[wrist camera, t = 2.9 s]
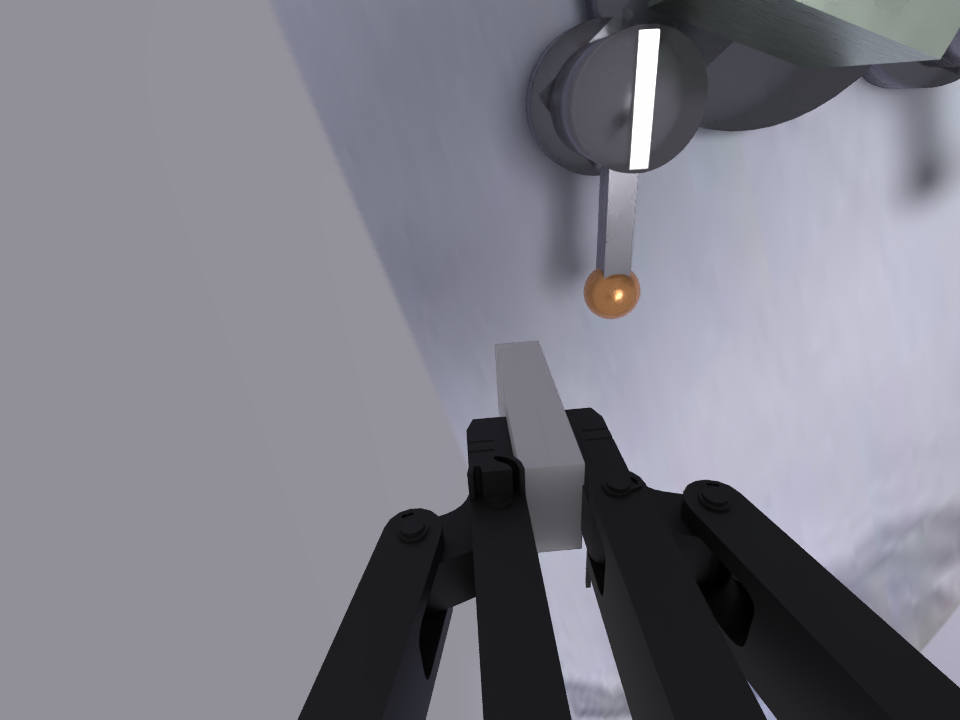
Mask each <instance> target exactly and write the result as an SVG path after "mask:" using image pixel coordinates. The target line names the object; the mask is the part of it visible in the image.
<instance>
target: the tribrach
mask: <svg viewBox="0 0 960 720" xmlns="http://www.w3.org/2000/svg"><path fill="white" fill-rule="evenodd" d="M586 5H587V11H588V16H589V19H590V20H589V21H586V22H583V23H581V24H579V25H578V26H576V27H574V28H572V29H570V30H568V31H567V32H565V33H563V34H562V35H561V36H559V37H558V38H556V39H555V40H554V41H553V42H552V43H551V44H550V45H549V46H548V47H547V48H546V50H545V51H544V52H543V53H542V55H541V57H540V58H539V60H538V61H537V63H536V65H535V67H534V69H533V72H532V74H531V77H530V80H529V84H528V89H527V96H526V112H527V119H528V123H529V127H530V130H531V133H532V135H533V137H534V139H535V141H536V143H537V144H538V146H539V147H540V148H541V150H542V151H543V152H544V153H545V154H546V155H547V156H548V157H549V158H551V159H552V160H553V161H555V162H556V163H558V164H559V165H561V166H562V167H564V168H566V169H568V170H570V171H572V172H575V173H578V174H583V175H592V176H595V175H600V167H601V165H600V164H598V163H596V162H593V161H591V160H589V159H587V158H585V157H583V156H581V155H579V154H577V153H575V152H573V151H572V150H570V149H569V148H568V147H567V146H566V145H565V144H564V143H563V142H562V141H561V140H560V138H559V136H558V135H557V133H556V131H555V129H554V126H553V123H552V119H551V113H550V98H551V92H552V87H553V84H554V81H555V79H556V76H557V74H558V72H559V70H560V69H561V67H562V66H563V64H564V63H565V61H566V60H567V59H568V58H569V57H570V56H571V55H572V54H573V53H574V52H575V51H576V50H578V49H579V48H581V47H582V46H584V45H586V44H588V43H590V42H593V41H595V40H598V39H600V38H603V37H606V36H608V35H611V34H614V33H616V32H619V31H622V30H624V29H627V28H630V27H633V26H636V25H641V24H662V25H667V26H669V27H672V28H675V29H676V30H678V31H680V32H682V33H683V34H684V35H686V36H687V37H688V38H689V39H690V40H691V41H692V42H693V43H694V45H695V46H696V48H697V49H698V51H699V52H700V54H701V57H702V59H703V61H704V64H705V68H706V72H707V78H708V95H707V102H706V108H705V111H704V114H703V118H702V120H701V122H700V125H699V127H698V128H705V129H714V130H724V131H743V130H754V129H759V128H765V127H770V126H774V125H777V124H780V123H783V122H786V121H789V120H792V119H794V118H797V117H799V116H801V115H803V114H805V113H807V112H809V111H811V110H814V109H815V108H817V107H819V106H820V105H822V104H824V103H825V102H827V101H828V100H830V99H832V98H833V97H835V96H836V95H838V94H839V93H840V92H842V91H843V90H844V89H846V88H847V87H848V86H850V85H851V84H852V83H853V82H855V81H856V80H857V79H858V78H859V77H860V76H862V77H863V78H864V79H866V80H867V81H868V82H870V83H872V84H874V85H876V86H880V87H883V88H931V87H938V86H943V85H946V84H949V83H952V82H954V81H956V80H958V79H960V66H957V67H939V68H934V67H928V66H924V65H922V64H920V63H918V62H917V61H925V60H939V59H941V58H942V56H943V54H944V53H945V51H946V49H947V48H948V46H949V44H950V43H951V41H952V40H953V38H954V36H955V35H956V33H957V31H958V30H959V28H960V0H586Z"/></svg>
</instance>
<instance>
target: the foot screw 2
mask: <svg viewBox="0 0 960 720" xmlns="http://www.w3.org/2000/svg"><path fill="white" fill-rule="evenodd" d="M917 62H918V63H920V64H922V65H924V66H928V67H934V68H939V67H957V66H960V28H959V30H958V31H957V33H956V35H955V36H954V38H953V40H952V41H951V43H950V44H949V46H948V48H947V49H946V51H945V53H944V54H943V56H942V58H941V59H939V60H925V61H917Z"/></svg>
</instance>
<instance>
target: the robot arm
mask: <svg viewBox="0 0 960 720" xmlns="http://www.w3.org/2000/svg"><path fill="white" fill-rule="evenodd" d="M495 355H496V371H497V388H498V404H499V414H500V417H495V418H484V419H473V420H472V422H471V424H470V425H469V427H468V429H467V446H468V463H469V468H468V472H467V477H468V486H469V495H468V497H467V500H466V501H465V502H464V503H463V504H462V505H461V506H460V507H458V508H457V509H456V510H454V511H452V512H449V513H447V514H445V515H442V516H439V517H438V516H437V515H436V514H434V513H433V512H432V511H430V510H426V509H421V508H420V509H419V508H418V509H409V510H406V511H403V512H400V513H398V514H397V515H396V516H394V517H393V518H391V519H390V520H389V522H388V523H387V525H386V526H385V527H384V530H383V532H382V534H381V536H380V539H379V541H378V543H377V545H376V547H375V550H374V552H373V554H372V556H371V558H370V561H369V563H368V565H367V567H366V569H365V572H364V574H363V576H362V579H361V581H360V583H359V585H358V587H357V590H356V592H355V594H354V596H353V598H352V600H351V603H350V605H349V607H348V609H347V612H346V614H345V616H344V618H343V621H342V623H341V625H340V627H339V629H338V631H337V634H336V636H335V638H334V640H333V643H332V645H331V647H330V649H329V651H328V654H327V656H326V658H325V661H324V663H323V665H322V667H321V669H320V671H319V674H318V676H317V678H316V680H315V683H314V685H313V687H312V689H311V691H310V693H309V696H308V698H307V700H306V702H305V705H304V707H303V709H302V711H301V714H300V716H299V718H298V720H426V716H427V712H428V708H429V704H430V700H431V696H432V692H433V688H434V684H435V680H436V676H437V672H438V668H439V664H440V660H441V656H442V651H443V647H444V643H445V639H446V635H447V631H448V627H449V624H450V619H451V615H452V611H453V606H455V605H458V604H460V603H462V602H465V601H467V600H469V599H472V598H474V597H476V605H477V621H478V638H479V654H480V668H481V669H480V670H481V684H482V685H481V686H482V703H483V719H484V720H571V715H570V710H569V705H568V700H567V695H566V690H565V685H564V680H563V675H562V671H561V666H560V661H559V656H558V651H557V646H556V641H555V636H554V631H553V626H552V622H551V617H550V612H549V607H548V602H547V597H546V592H545V587H544V582H543V577H542V573H541V568H540V563H539V558H538V553H540V552H550V551H560V550H571V549H581V548H582V535H583V538H584V541H585V544H586V547H587V559H586V588H589V587H591V582H592V585H593V588H594V592H595V595H596V599H597V602H598V605H599V609H600V612H601V615H602V619H603V622H604V625H605V629H606V632H607V636H608V639H609V642H610V646H611V649H612V652H613V656H614V659H615V662H616V666H617V669H618V672H619V676H620V679H621V683H622V686H623V689H624V693H625V696H626V699H627V703H628V706H629V709H630V713H631V716H632V720H767V719H766V717H765V715H764V713H763V711H762V709H761V707H760V705H759V703H758V701H757V699H756V697H755V695H754V694H753V692H752V690H751V688H750V686H749V684H748V682H749V683H750V685H751V686H752V687H753V689H754V690H755V691H756V692H757V694H758V695H759V696H760V698H761V699H762V700H763V702H764V703H765V704H766V705H767V707H768V708H769V709H770V711H771V712H772V713H773V715H774V716H775V717H776V718H777V720H960V688H959V687H958V686H957V685H956V684H955V683H954V682H952V681H951V680H950V679H949V678H948V677H947V676H946V675H945V674H943V673H942V672H941V671H940V670H939V669H938V668H937V667H936V666H934V665H933V664H932V663H931V662H930V661H929V660H928V659H926V658H925V657H924V656H923V655H922V654H921V653H920V652H919V651H918V650H916V649H915V648H914V647H913V646H912V645H911V644H910V643H909V642H907V641H906V640H905V639H904V638H903V637H902V636H901V635H900V634H898V633H897V632H896V631H895V630H894V629H893V628H892V627H891V626H889V625H888V624H887V623H886V622H885V621H884V620H883V619H882V618H880V617H879V616H878V615H877V614H876V613H875V612H874V611H872V610H871V609H870V608H869V607H868V606H867V605H866V604H865V603H863V602H862V601H861V600H860V599H859V598H858V597H857V596H856V595H854V594H853V593H852V592H851V591H850V590H849V589H848V588H847V587H845V586H844V585H843V584H842V583H841V582H840V581H839V580H838V579H836V578H835V577H834V576H833V575H832V574H831V573H830V572H829V571H827V570H826V569H825V568H824V567H823V566H822V565H821V564H820V563H818V562H817V561H816V560H815V559H814V558H813V557H812V556H811V555H809V554H808V553H807V552H806V551H805V550H804V549H803V548H802V547H800V546H799V545H798V544H797V543H796V542H795V541H794V540H793V539H791V538H790V537H789V536H788V535H787V534H786V533H785V532H784V531H782V530H781V529H780V528H779V527H778V526H777V525H776V524H775V523H773V522H772V521H771V520H770V519H769V518H768V517H767V516H765V515H764V514H763V513H762V512H761V511H760V510H759V509H758V508H756V507H755V506H754V505H753V504H752V503H751V502H750V501H749V500H747V499H746V498H745V497H744V496H743V495H742V494H741V493H740V492H738V491H737V490H735V489H734V488H732V487H731V486H729V485H726V484H724V483H721V482H718V481H711V480H700V481H694V482H693V483H691V484H689V485H687V487H686V488H685V490H684V491H683V494H678V493H671V492H663V491H659V490H654V489H652V488H649V487H647V486H646V484H645V483H644V481H643V480H642V479H641V478H640V477H639V476H637V475H636V474H634V473H632V472H630V471H629V470H628V468H627V466H626V464H625V462H624V460H623V458H622V456H621V454H620V452H619V450H618V447H617V445H616V443H615V441H614V439H612V435H611V433H610V431H609V430H608V427H607V425H606V423H605V421H604V419H603V417H602V416H601V415H599V414H598V413H597V412H596V411H594V410H593V409H592V408H581V409H570V410H564V407H563V405H562V402H561V399H560V397H559V394H558V391H557V389H556V386H555V384H554V381H553V378H552V376H551V373H550V370H549V368H548V365H547V363H546V360H545V357H544V355H543V352H542V349H541V347H540V344H539V342H538V341H529V342H518V343H506V344H495ZM746 679H747V680H746ZM747 681H748V682H747Z"/></svg>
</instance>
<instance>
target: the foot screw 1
mask: <svg viewBox="0 0 960 720" xmlns="http://www.w3.org/2000/svg"><path fill="white" fill-rule="evenodd" d="M707 95H708V78H707V72H706V68H705V64H704V61H703V59H702V57H701V54H700V52H699V51H698V49H697V48H696V46H695V45H694V43H693V42H692V41H691V40H690V39H689V38H688V37H687V36H686V35H684V34H683V33H682V32H680V31H678V30H676V29H675V28H672V27H669V26H667V25H662V24H641V25H636V26H633V27H630V28H627V29H624V30H622V31H619V32H616V33H614V34H611V35H608V36H606V37H603V38H600V39H598V40H595V41H593V42H590V43H588V44H586V45H584V46H582V47H581V48H579V49H578V50H576V51H575V52H574V53H573V54H572V55H571V56H570V57H569V58H568V59H567V60H566V61H565V63H564V64H563V66H562V67H561V69H560V70H559V72H558V74H557V76H556V79H555V81H554V84H553V87H552V92H551V98H550V113H551V119H552V123H553V126H554V129H555V131H556V133H557V135H558V136H559V138H560V140H561V141H562V142H563V143H564V144H565V145H566V146H567V147H568V148H569V149H570V150H572V151H573V152H575V153H577V154H579V155H581V156H583V157H585V158H587V159H589V160H591V161H593V162H596V163H598V164H600V165H601V167H600V190H599V213H598V237H597V260H596V270H594V271H593V272H592V273H591V274H590V275H589V277H588V278H587V280H586V283H585V286H584V299H585V302H586V304H587V306H588V308H589V309H590V310H591V311H592V312H593V313H594V314H596V315H597V316H599V317H602V318H606V319H617V318H620V317H623V316H625V315H627V314H628V313H630V312H631V311H632V310H633V309H634V307H635V306H636V304H637V303H638V300H639V297H640V284H639V281H638V278H637V277H636V275H635V274H634V273H633V272H632V271H631V260H632V247H633V234H634V221H635V208H636V195H637V182H638V173H643V172H647V171H651V170H653V169H656V168H658V167H660V166H662V165H664V164H666V163H667V162H669V161H670V160H672V159H673V158H674V157H676V156H677V155H678V154H679V153H680V152H681V151H682V150H683V149H684V148H685V146H686V145H687V144H688V143H689V142H690V140H691V139H692V137H693V136H694V134H695V132H696V131H697V129H698V127H699V125H700V122H701V120H702V118H703V114H704V111H705V108H706V102H707Z"/></svg>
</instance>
